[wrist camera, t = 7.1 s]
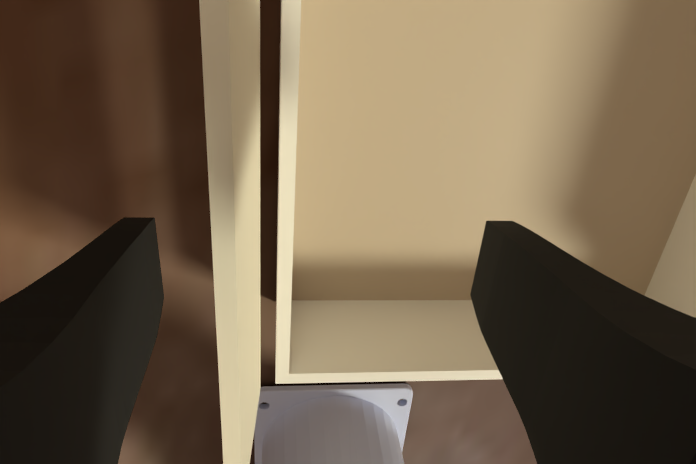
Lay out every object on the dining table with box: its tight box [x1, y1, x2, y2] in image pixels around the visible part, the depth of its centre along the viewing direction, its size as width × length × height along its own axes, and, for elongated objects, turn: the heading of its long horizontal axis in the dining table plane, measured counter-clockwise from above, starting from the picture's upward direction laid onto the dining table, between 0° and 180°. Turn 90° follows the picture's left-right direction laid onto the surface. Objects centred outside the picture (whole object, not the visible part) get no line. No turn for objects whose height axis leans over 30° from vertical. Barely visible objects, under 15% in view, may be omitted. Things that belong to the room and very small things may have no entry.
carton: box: [275, 0, 696, 384], centre depth 20 cm, size 20×18×5 cm
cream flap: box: [199, 0, 261, 464], centre depth 14 cm, size 20×5×1 cm
